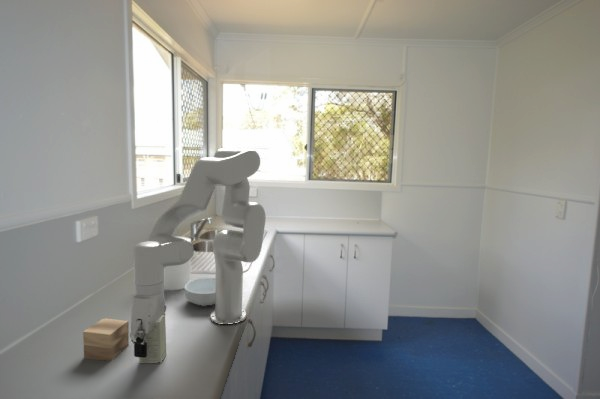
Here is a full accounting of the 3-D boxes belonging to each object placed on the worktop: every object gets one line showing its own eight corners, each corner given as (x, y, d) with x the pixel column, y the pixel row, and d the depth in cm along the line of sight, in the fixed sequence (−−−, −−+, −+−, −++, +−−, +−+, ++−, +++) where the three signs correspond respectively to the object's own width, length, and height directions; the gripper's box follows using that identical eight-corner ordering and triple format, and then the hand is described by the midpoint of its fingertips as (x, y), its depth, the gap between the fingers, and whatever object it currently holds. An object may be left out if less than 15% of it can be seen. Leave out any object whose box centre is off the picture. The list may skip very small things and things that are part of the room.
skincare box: (166, 354, 96) (166, 314, 95) (160, 364, 92) (160, 322, 90) (144, 354, 96) (143, 313, 95) (137, 363, 92) (136, 321, 90)
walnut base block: (103, 343, 101) (103, 331, 101) (128, 346, 100) (128, 333, 100) (84, 359, 93) (83, 345, 93) (111, 361, 92) (110, 348, 92)
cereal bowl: (216, 314, 122) (217, 295, 121) (175, 308, 125) (175, 290, 125) (234, 296, 139) (235, 279, 138) (198, 291, 142) (198, 275, 141)
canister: (169, 292, 139) (169, 245, 137) (152, 284, 147) (151, 240, 145) (197, 284, 150) (197, 240, 147) (179, 276, 158) (179, 235, 155)
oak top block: (104, 330, 101) (103, 318, 100) (128, 333, 100) (128, 320, 99) (83, 345, 93) (83, 331, 92) (110, 348, 92) (109, 334, 91)
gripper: (152, 275, 100) (152, 330, 102) (116, 299, 83) (117, 364, 85) (176, 277, 99) (176, 332, 101) (145, 301, 82) (146, 367, 84)
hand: (149, 346), depth 93 cm, fingers open, 8 cm apart
